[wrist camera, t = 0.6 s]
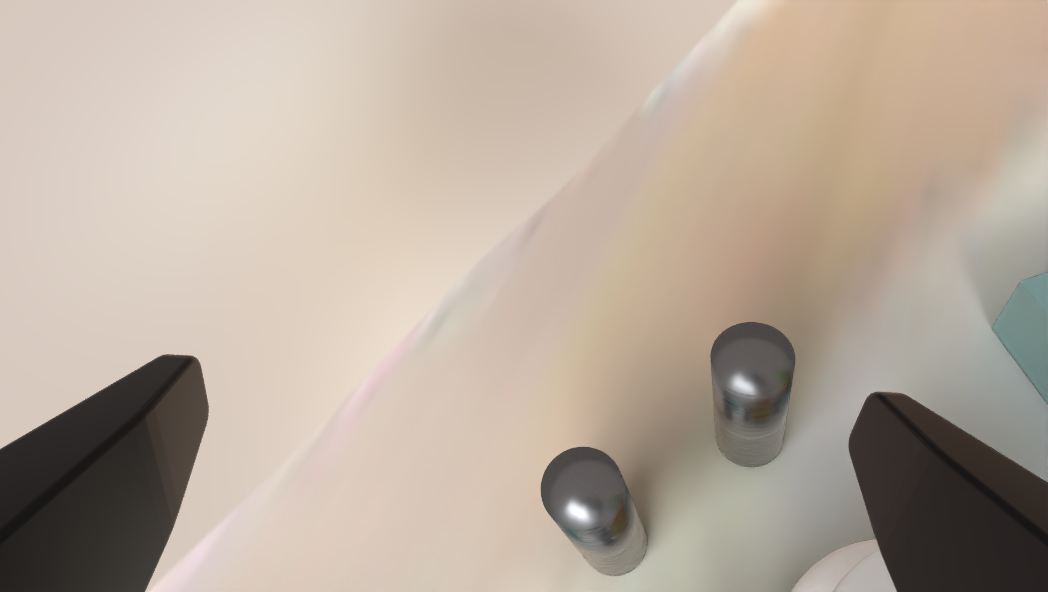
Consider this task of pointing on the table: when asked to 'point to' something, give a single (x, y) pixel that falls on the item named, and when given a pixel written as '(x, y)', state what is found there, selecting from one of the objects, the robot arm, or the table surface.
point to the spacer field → (741, 433)
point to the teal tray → (1028, 329)
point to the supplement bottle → (848, 571)
